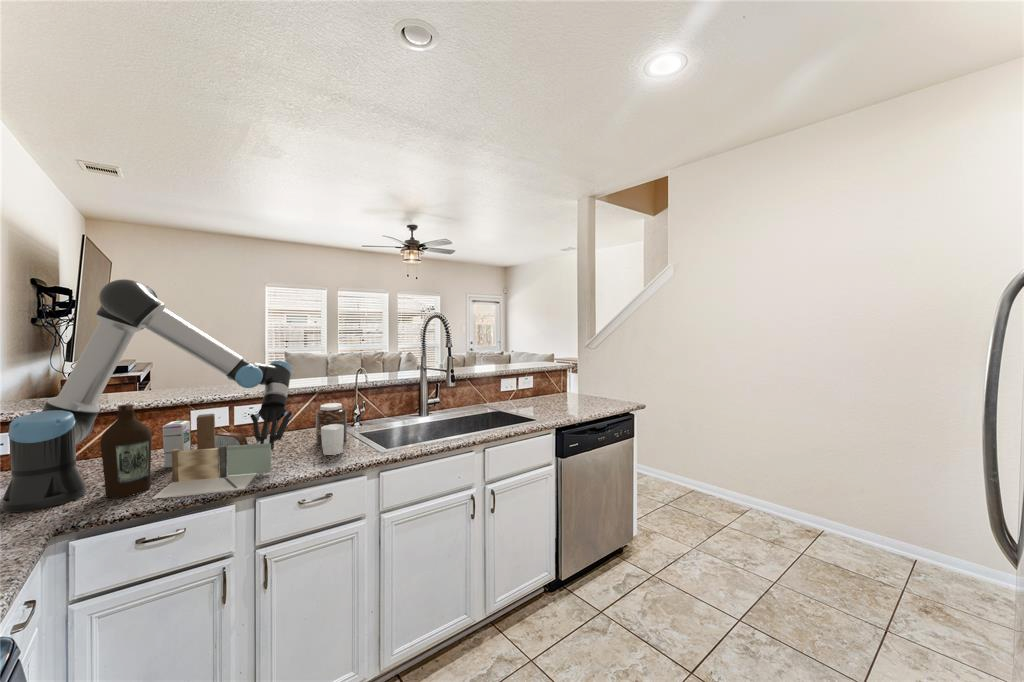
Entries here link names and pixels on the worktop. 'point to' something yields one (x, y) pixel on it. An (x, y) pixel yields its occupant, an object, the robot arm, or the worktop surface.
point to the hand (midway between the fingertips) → (264, 459)
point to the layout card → (206, 486)
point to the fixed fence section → (199, 464)
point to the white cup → (332, 439)
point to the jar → (330, 418)
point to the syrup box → (175, 439)
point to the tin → (229, 439)
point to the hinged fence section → (248, 459)
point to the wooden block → (206, 431)
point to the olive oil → (126, 455)
